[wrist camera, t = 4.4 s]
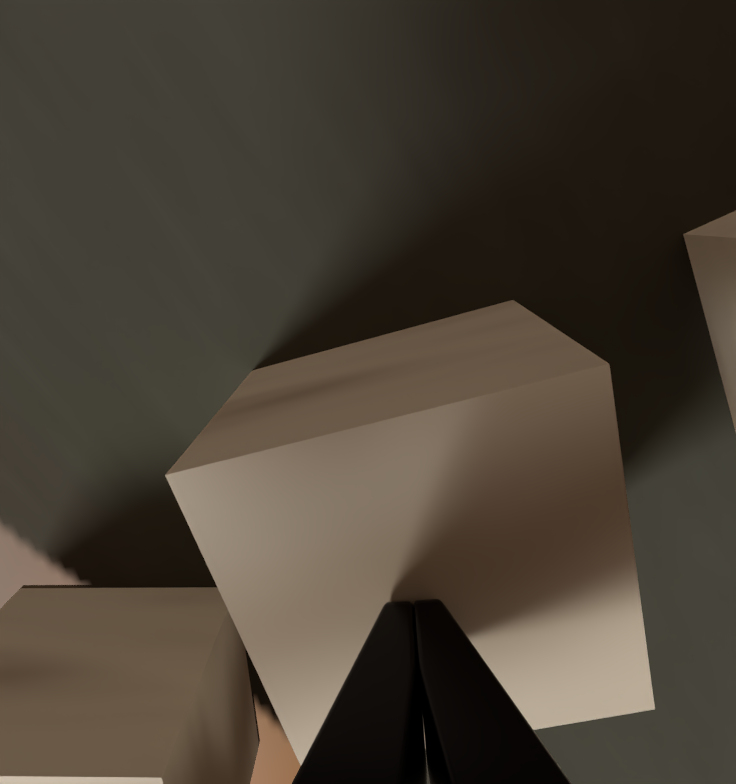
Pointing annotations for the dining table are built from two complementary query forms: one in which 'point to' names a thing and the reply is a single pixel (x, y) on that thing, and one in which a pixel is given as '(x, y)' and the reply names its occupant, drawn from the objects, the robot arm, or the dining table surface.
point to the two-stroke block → (718, 292)
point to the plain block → (427, 513)
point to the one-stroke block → (123, 688)
